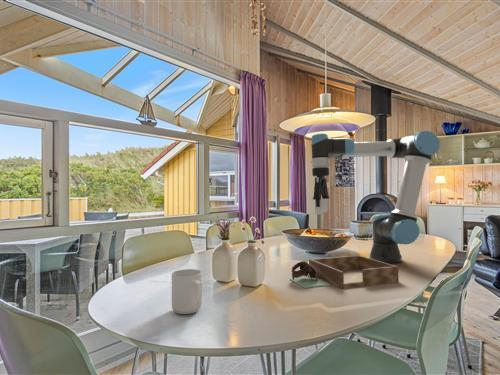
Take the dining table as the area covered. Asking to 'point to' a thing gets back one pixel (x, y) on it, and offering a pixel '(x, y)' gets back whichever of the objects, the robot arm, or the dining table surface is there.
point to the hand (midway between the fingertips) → (321, 213)
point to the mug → (186, 291)
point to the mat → (309, 282)
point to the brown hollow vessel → (304, 270)
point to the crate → (370, 268)
